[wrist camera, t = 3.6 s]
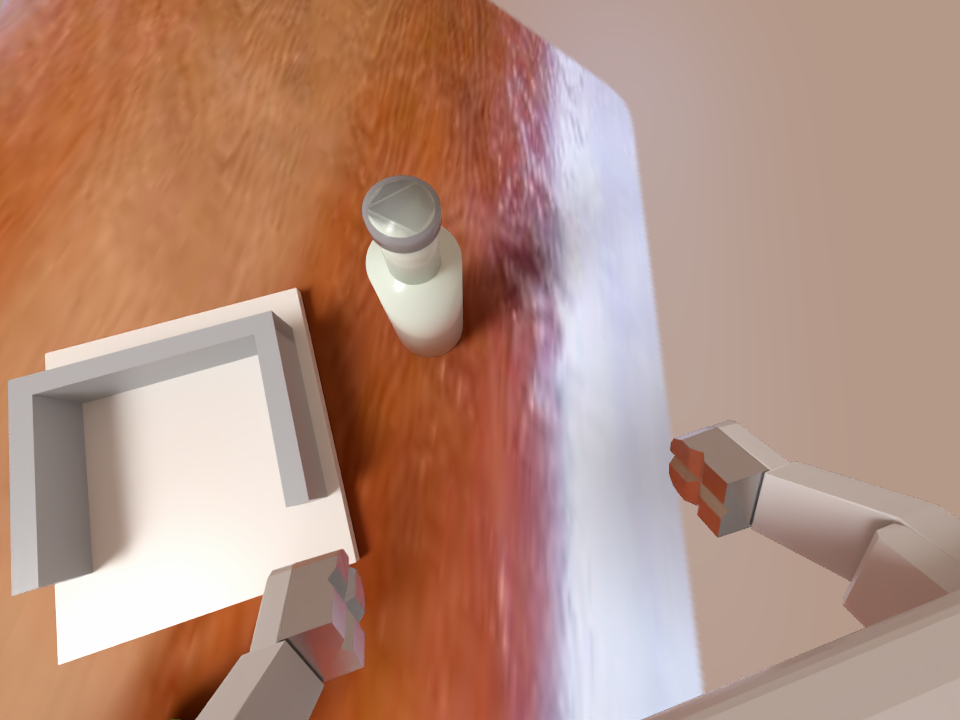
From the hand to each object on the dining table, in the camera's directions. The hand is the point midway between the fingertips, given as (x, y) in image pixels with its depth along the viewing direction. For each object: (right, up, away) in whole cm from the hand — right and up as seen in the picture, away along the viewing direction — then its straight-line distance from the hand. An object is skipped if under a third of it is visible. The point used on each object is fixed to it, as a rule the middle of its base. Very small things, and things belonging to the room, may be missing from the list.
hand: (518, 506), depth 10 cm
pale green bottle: (-4, +6, +18) cm, 20 cm away
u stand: (-18, -2, +16) cm, 24 cm away
